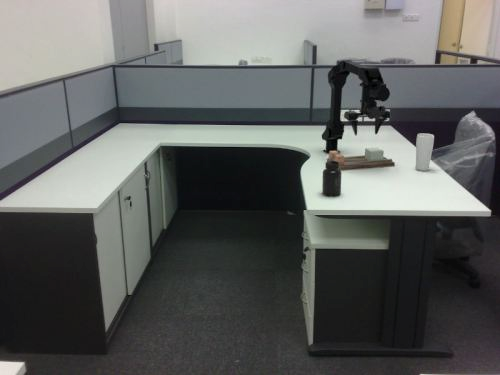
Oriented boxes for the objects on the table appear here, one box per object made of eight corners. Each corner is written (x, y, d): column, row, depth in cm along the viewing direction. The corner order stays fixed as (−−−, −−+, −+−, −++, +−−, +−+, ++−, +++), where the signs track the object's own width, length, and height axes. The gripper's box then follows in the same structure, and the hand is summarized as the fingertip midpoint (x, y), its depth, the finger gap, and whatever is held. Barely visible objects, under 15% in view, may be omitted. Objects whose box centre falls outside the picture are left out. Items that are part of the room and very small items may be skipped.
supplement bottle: (338, 190, 176) (340, 159, 173) (342, 196, 170) (344, 164, 166) (320, 190, 176) (321, 160, 172) (323, 197, 170) (324, 165, 166)
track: (326, 161, 213) (327, 150, 211) (379, 157, 218) (380, 146, 216) (338, 170, 200) (339, 158, 198) (394, 165, 205) (395, 153, 203)
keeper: (364, 158, 212) (365, 148, 210) (376, 157, 213) (377, 147, 211) (370, 161, 206) (371, 151, 205) (383, 160, 207) (383, 150, 206)
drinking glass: (419, 172, 195) (423, 137, 190) (410, 168, 201) (413, 134, 196) (433, 171, 197) (437, 136, 192) (424, 166, 203) (427, 132, 198)
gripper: (354, 102, 186) (352, 140, 191) (398, 100, 189) (395, 137, 194) (344, 98, 196) (342, 134, 201) (385, 96, 199) (383, 131, 205)
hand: (365, 134), depth 200 cm, fingers open, 9 cm apart
